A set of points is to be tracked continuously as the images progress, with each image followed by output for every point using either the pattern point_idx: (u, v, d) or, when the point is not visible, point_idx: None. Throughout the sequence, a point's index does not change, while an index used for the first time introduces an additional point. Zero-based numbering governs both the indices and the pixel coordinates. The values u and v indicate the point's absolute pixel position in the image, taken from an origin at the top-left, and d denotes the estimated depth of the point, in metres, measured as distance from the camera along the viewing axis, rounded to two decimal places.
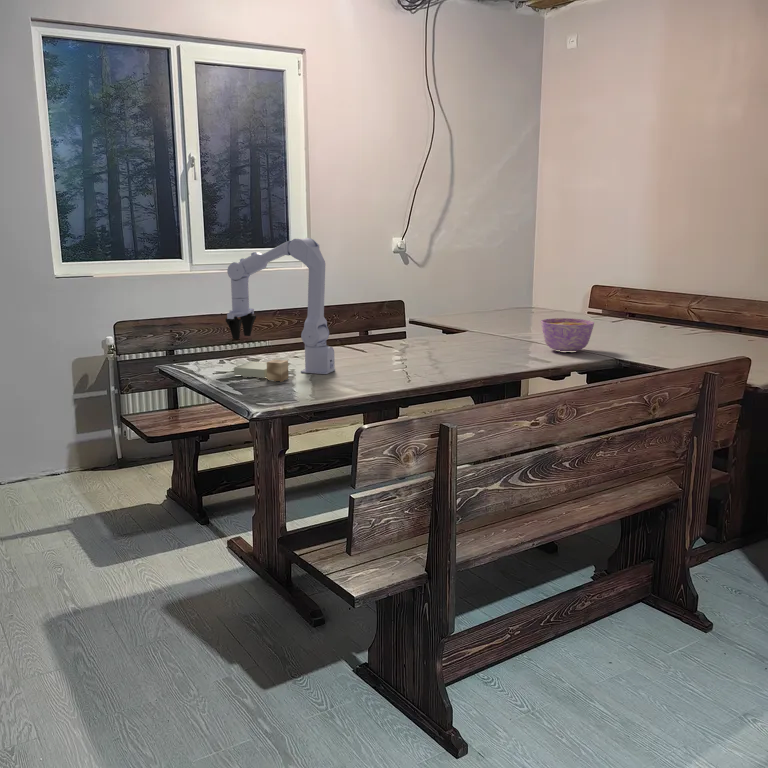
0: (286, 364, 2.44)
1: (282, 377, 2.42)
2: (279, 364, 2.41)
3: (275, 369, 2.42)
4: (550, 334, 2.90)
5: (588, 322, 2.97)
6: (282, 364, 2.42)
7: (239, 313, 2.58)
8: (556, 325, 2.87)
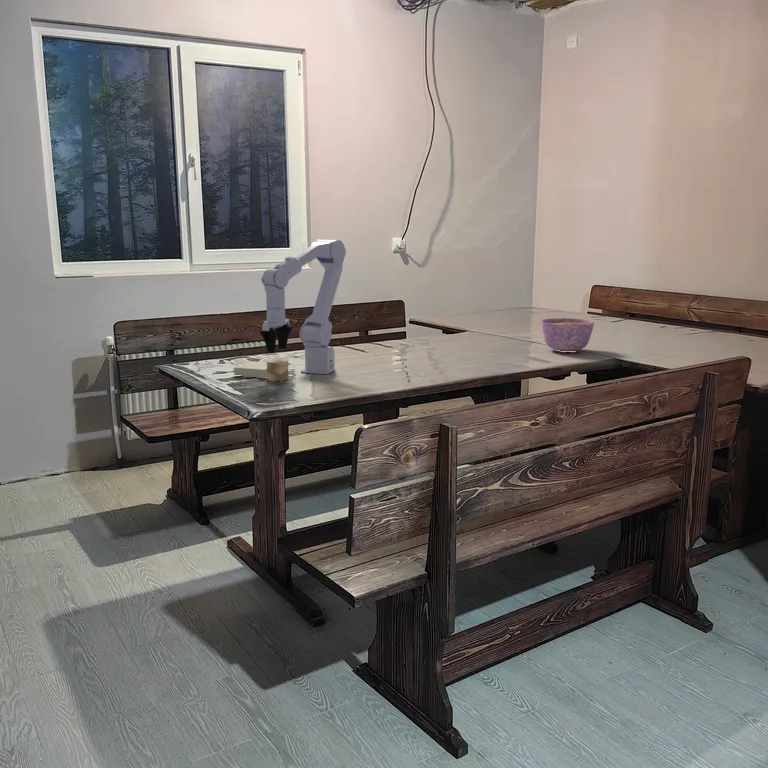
0: (286, 364, 2.44)
1: (282, 377, 2.42)
2: (279, 364, 2.41)
3: (275, 369, 2.42)
4: (550, 334, 2.90)
5: (588, 322, 2.97)
6: (282, 364, 2.42)
7: (275, 324, 2.37)
8: (556, 325, 2.87)
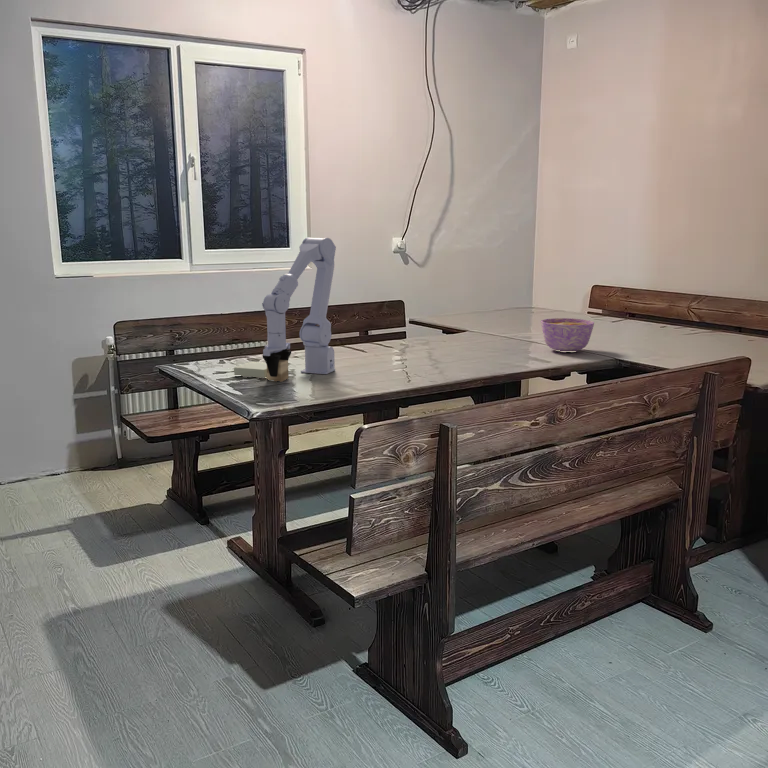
0: (286, 364, 2.44)
1: (282, 376, 2.42)
2: (279, 364, 2.41)
3: None
4: (550, 334, 2.90)
5: (588, 322, 2.97)
6: (282, 364, 2.42)
7: (276, 349, 2.38)
8: (556, 325, 2.87)
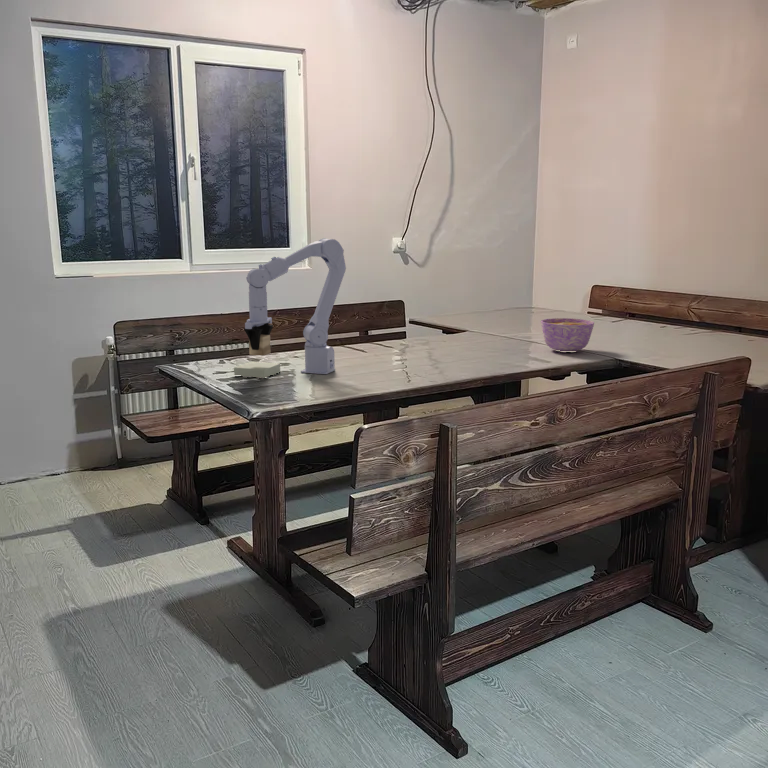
0: (268, 338, 2.49)
1: (264, 350, 2.47)
2: (261, 338, 2.46)
3: None
4: (550, 334, 2.90)
5: (588, 322, 2.97)
6: (264, 338, 2.47)
7: (257, 323, 2.44)
8: (556, 325, 2.87)
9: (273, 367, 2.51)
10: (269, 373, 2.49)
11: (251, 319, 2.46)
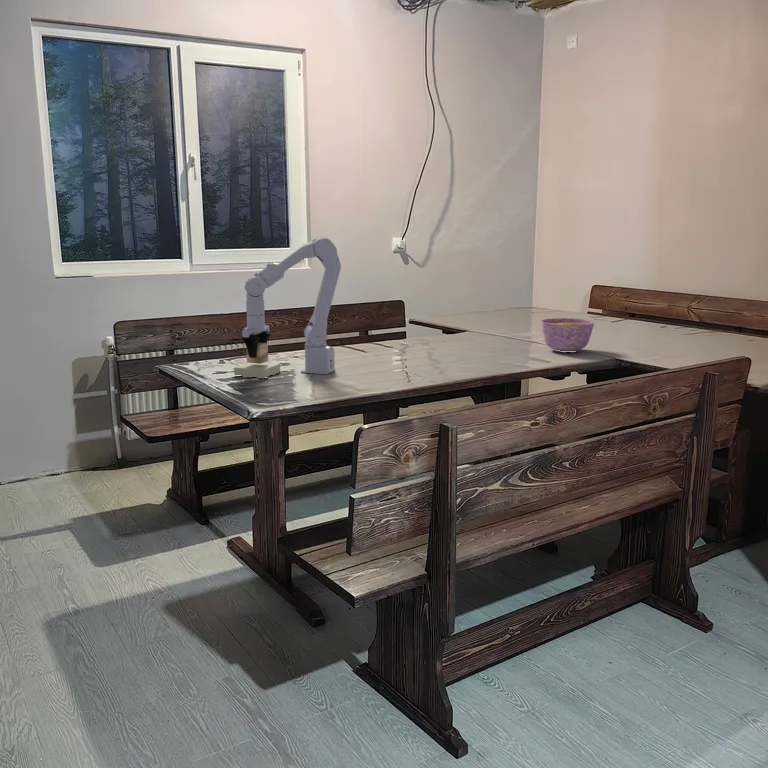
0: (266, 346, 2.51)
1: (261, 358, 2.49)
2: (258, 346, 2.48)
3: None
4: (550, 334, 2.90)
5: (588, 322, 2.97)
6: (261, 346, 2.49)
7: (255, 331, 2.45)
8: (556, 325, 2.87)
9: (273, 367, 2.51)
10: (269, 373, 2.49)
11: (248, 327, 2.47)
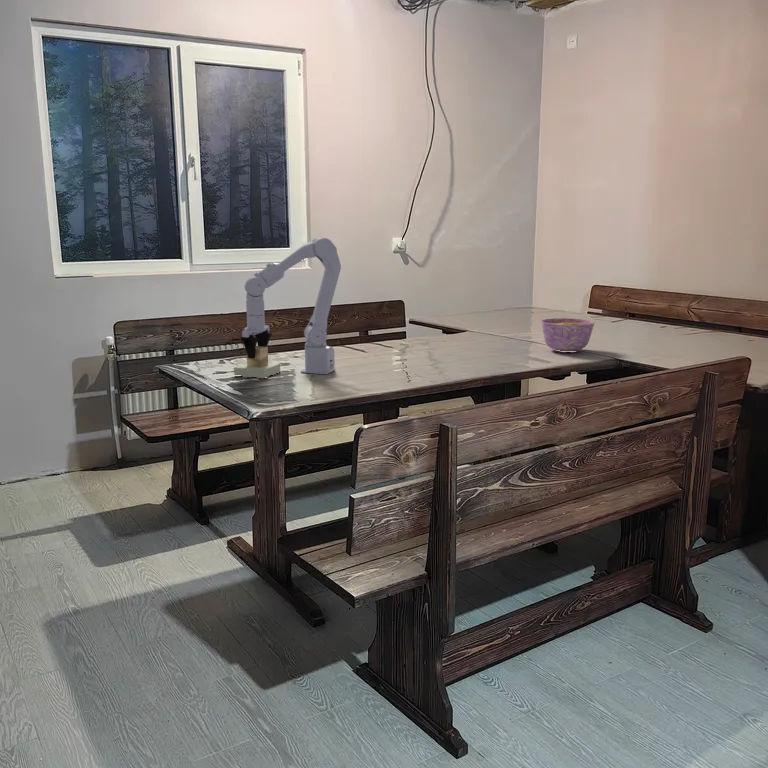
0: (266, 350, 2.51)
1: (262, 362, 2.50)
2: (259, 350, 2.48)
3: (255, 355, 2.49)
4: (550, 334, 2.90)
5: (588, 322, 2.97)
6: (262, 350, 2.49)
7: (255, 331, 2.45)
8: (556, 325, 2.87)
9: (273, 367, 2.51)
10: (269, 373, 2.49)
11: (248, 327, 2.47)
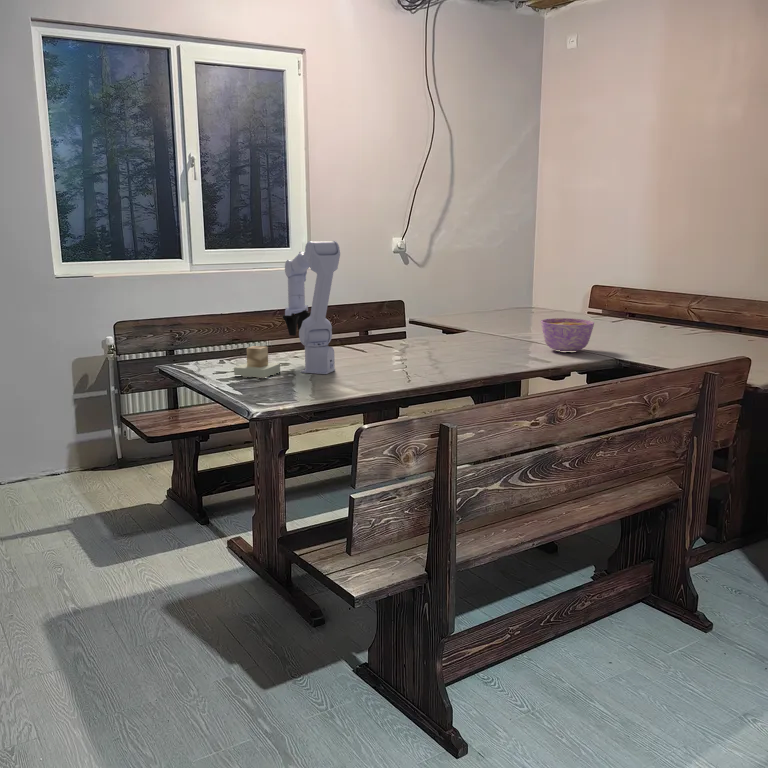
0: (266, 350, 2.51)
1: (262, 362, 2.50)
2: (259, 350, 2.48)
3: (255, 355, 2.49)
4: (550, 334, 2.90)
5: (588, 322, 2.97)
6: (262, 350, 2.49)
7: (296, 310, 2.64)
8: (556, 325, 2.87)
9: (273, 367, 2.51)
10: (269, 373, 2.49)
11: (290, 307, 2.66)
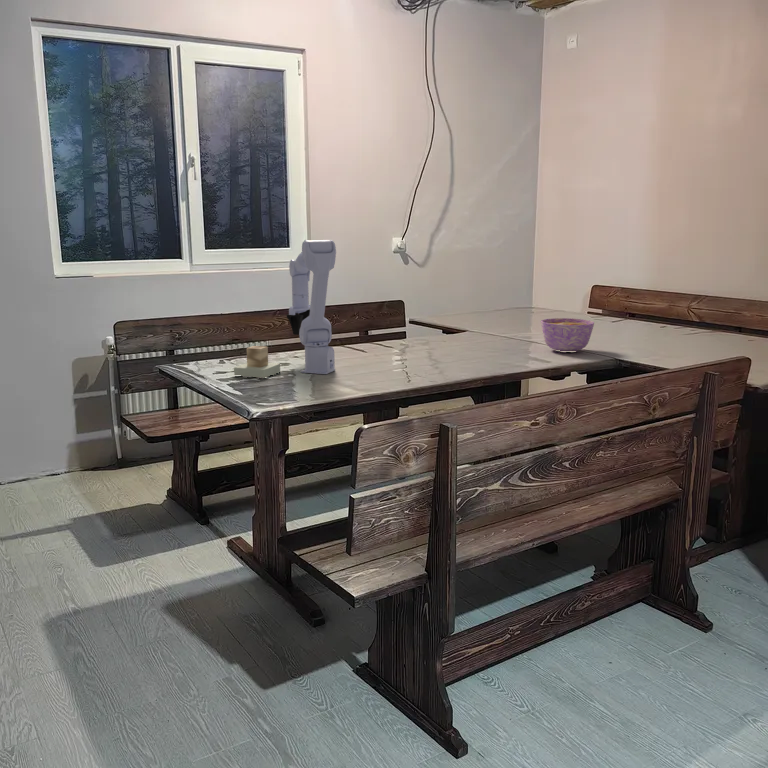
0: (266, 350, 2.51)
1: (262, 362, 2.50)
2: (259, 350, 2.48)
3: (255, 355, 2.49)
4: (550, 334, 2.90)
5: (588, 322, 2.97)
6: (262, 350, 2.49)
7: (300, 309, 2.66)
8: (556, 325, 2.87)
9: (273, 367, 2.51)
10: (269, 373, 2.49)
11: (294, 306, 2.68)
